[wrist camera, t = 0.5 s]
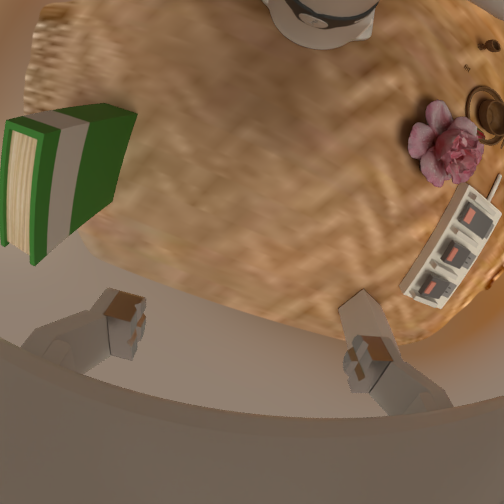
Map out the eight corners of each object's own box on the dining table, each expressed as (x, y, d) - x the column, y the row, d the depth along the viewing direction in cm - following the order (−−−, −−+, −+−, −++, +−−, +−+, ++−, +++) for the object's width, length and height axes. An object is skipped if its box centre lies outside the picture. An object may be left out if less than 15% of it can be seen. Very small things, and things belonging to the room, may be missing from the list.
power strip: (474, 150, 40) (491, 157, 35) (506, 181, 42) (522, 190, 37) (398, 285, 56) (407, 302, 51) (436, 301, 57) (445, 316, 52)
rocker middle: (450, 238, 45) (456, 243, 43) (466, 247, 47) (471, 252, 45) (438, 257, 47) (444, 263, 45) (455, 264, 49) (460, 270, 47)
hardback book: (112, 201, 51) (34, 266, 30) (83, 188, 50) (0, 244, 29) (137, 113, 43) (44, 134, 22) (104, 103, 41) (6, 120, 20)
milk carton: (337, 308, 59) (354, 379, 43) (363, 288, 57) (389, 357, 40) (356, 323, 61) (375, 391, 45) (380, 305, 59) (407, 371, 42)
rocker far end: (428, 272, 48) (434, 278, 47) (446, 278, 50) (451, 284, 49) (416, 289, 51) (421, 296, 49) (434, 294, 53) (439, 300, 51)
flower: (387, 151, 40) (431, 169, 32) (424, 85, 36) (469, 93, 27) (428, 194, 47) (465, 216, 39) (460, 136, 42) (498, 150, 34)
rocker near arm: (467, 200, 42) (471, 203, 40) (489, 218, 42) (494, 221, 40) (457, 220, 44) (460, 223, 42) (479, 236, 44) (483, 240, 42)
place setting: (444, 111, 38) (461, 114, 33) (473, 36, 29) (490, 33, 24) (496, 161, 41) (513, 169, 36) (523, 91, 31) (540, 93, 26)
